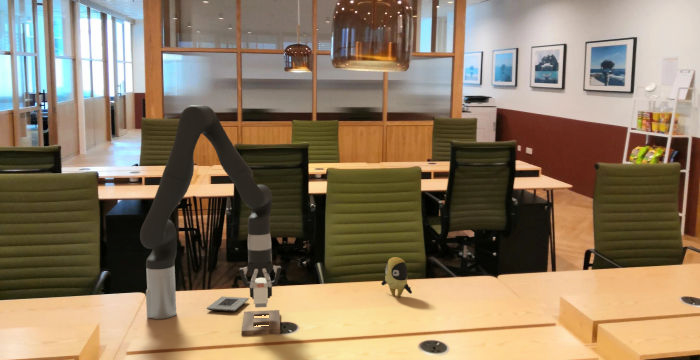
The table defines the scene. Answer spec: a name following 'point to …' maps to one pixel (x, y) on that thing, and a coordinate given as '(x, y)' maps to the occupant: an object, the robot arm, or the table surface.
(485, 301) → the table surface
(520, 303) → the table surface
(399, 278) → the figurine
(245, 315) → the brown wooden slotted board
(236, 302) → the electrical outlet
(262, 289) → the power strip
